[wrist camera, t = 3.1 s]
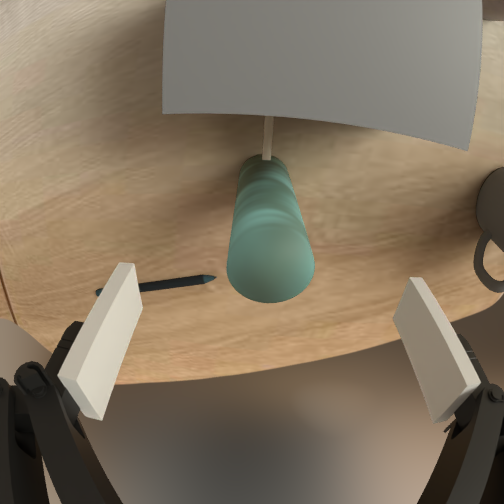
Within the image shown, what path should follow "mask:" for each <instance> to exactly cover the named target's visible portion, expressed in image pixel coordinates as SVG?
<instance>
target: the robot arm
mask: <svg viewBox="0 0 504 504" xmlns="http://www.w3.org/2000/svg"><path fill="white" fill-rule="evenodd" d="M142 309H143V306H142V301H141V297H140V292H139V287H138V282H137V277H136V271H135V266H134V263H122V262H119V264H118V265H117V267H116V268H115V270H114V272H113V273H112V275H111V277H110V278H109V280H108V282H107V283H106V285H105V287H104V288H103V290H102V292H101V294H100V295H99V297H98V299H97V301H96V302H95V304H94V306H93V308H92V309H91V311H90V313H89V315H88V317H87V318H86V320H85V322H78V321H75V322H73V323H72V324H71V325H70V326H69V327H68V328H67V329H66V330H65V332H64V334H63V336H62V338H61V340H60V341H59V343H58V345H57V348H56V349H55V350H54V352H53V354H52V356H51V358H50V360H49V362H48V364H47V366H46V368H45V370H44V368H43V366H42V365H41V364H39V363H38V362H33V361H31V362H27V363H25V364H23V365H21V366H20V367H19V368H18V370H17V371H16V373H15V375H14V382H15V384H16V385H17V386H10V385H9V384H8V382H7V381H6V380H5V379H3V378H0V504H50V503H49V498H48V494H47V488H46V482H45V476H44V469H43V462H42V457H43V460H44V462H45V465H46V467H47V470H48V472H49V475H50V478H51V480H52V483H53V485H54V487H55V490H56V492H57V494H58V496H59V498H60V501H61V503H62V504H123V503H122V502H121V500H120V498H119V497H118V495H117V493H116V491H115V490H114V488H113V486H112V485H111V483H110V481H109V479H108V478H107V476H106V474H105V472H104V470H103V468H102V466H101V464H100V462H99V460H98V459H97V456H96V454H95V453H94V450H93V449H92V447H91V444H90V442H89V440H88V438H87V436H86V433H85V431H84V429H83V426H82V424H81V422H80V420H79V418H78V417H77V416H78V413H79V411H80V410H81V411H82V412H83V414H84V415H85V416H87V417H90V418H94V419H98V420H102V419H103V416H104V413H105V410H106V407H107V404H108V401H109V398H110V395H111V392H112V389H113V386H114V383H115V380H116V378H117V375H118V372H119V369H120V366H121V364H122V361H123V358H124V356H125V353H126V350H127V348H128V345H129V342H130V340H131V337H132V334H133V332H134V329H135V327H136V324H137V322H138V319H139V317H140V314H141V312H142ZM393 320H394V323H395V325H396V327H397V330H398V332H399V334H400V337H401V339H402V341H403V344H404V346H405V349H406V351H407V353H408V356H409V359H410V361H411V364H412V366H413V369H414V371H415V374H416V377H417V379H418V382H419V384H420V387H421V390H422V393H423V395H424V398H425V401H426V404H427V407H428V410H429V413H430V415H431V419H432V422H433V424H434V423H438V422H442V421H446V420H448V419H449V418H450V416H452V415H453V413H454V414H455V417H456V419H455V420H454V421H453V422H452V423H451V424H450V425H449V426H448V427H447V428H446V429H445V430H444V432H447V431H448V430H449V429H450V431H449V433H448V437H447V439H446V442H445V444H444V447H443V449H442V452H441V454H440V457H439V459H438V461H437V464H436V466H435V468H434V471H433V473H432V475H431V477H430V479H429V481H428V483H427V485H426V487H425V489H424V491H423V493H422V495H421V497H420V499H419V501H418V503H417V504H504V392H503V390H502V389H501V388H500V387H499V386H498V385H495V384H490V383H489V381H488V380H487V377H486V375H485V373H484V371H483V369H482V367H481V365H480V363H479V361H478V359H476V356H475V354H474V352H472V348H471V346H470V345H469V343H468V341H467V340H466V339H465V338H464V337H463V336H462V335H461V334H456V333H455V331H454V329H453V328H452V326H451V324H450V322H449V321H448V319H447V317H446V316H445V314H444V312H443V311H442V309H441V307H440V305H439V304H438V302H437V301H436V299H435V297H434V296H433V294H432V292H431V291H430V289H429V288H428V286H427V285H426V283H425V281H424V280H423V278H422V277H409V280H408V283H407V285H406V288H405V290H404V293H403V295H402V298H401V300H400V302H399V305H398V307H397V309H396V312H395V314H394V316H393Z"/></svg>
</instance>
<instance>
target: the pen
mask: <svg viewBox="0 0 504 504" xmlns="http://www.w3.org/2000/svg"><path fill="white" fill-rule="evenodd" d="M214 278H217V277H214V276H210V275H197V276H190V277H183V278H176V279H169V280H162V281H155V282H147V283H140V284H138V287H139V292H145V291H153V290H161V289H169V288H177V287H184V286H192V285H199V284H205V283H207V282H209V281H212V280H214ZM102 290H103V289H99V290H97V291H96V295H97V296H99V295H100V294H101V292H102Z"/></svg>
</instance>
